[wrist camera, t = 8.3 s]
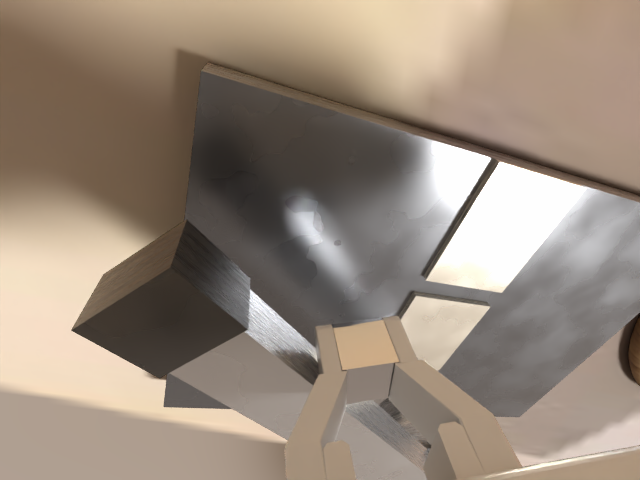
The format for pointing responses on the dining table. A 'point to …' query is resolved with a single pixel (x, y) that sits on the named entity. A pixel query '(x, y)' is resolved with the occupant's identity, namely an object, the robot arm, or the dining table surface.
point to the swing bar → (229, 346)
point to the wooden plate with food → (635, 352)
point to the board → (410, 239)
